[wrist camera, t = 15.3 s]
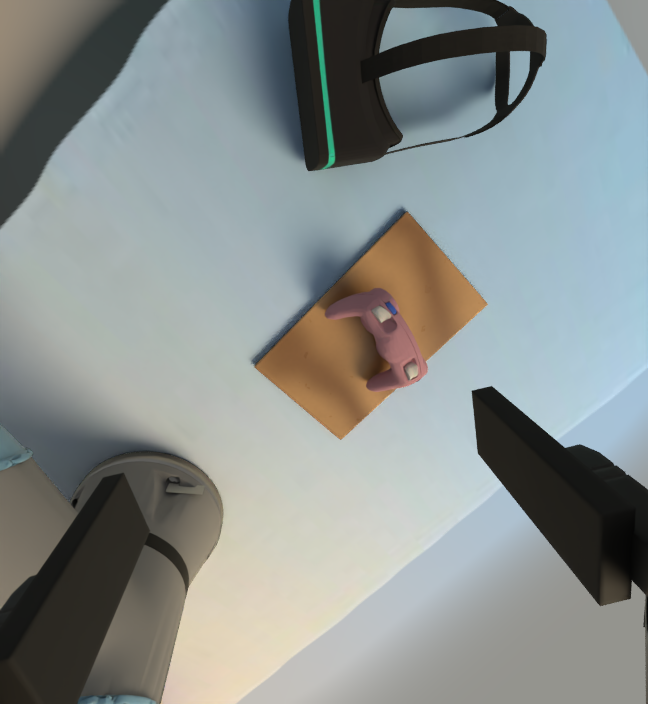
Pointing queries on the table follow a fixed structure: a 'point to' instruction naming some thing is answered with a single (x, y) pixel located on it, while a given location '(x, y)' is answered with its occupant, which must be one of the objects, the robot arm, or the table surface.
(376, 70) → the virtual reality headset
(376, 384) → the video game controller
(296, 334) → the cork mat
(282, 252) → the table surface
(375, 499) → the table surface
